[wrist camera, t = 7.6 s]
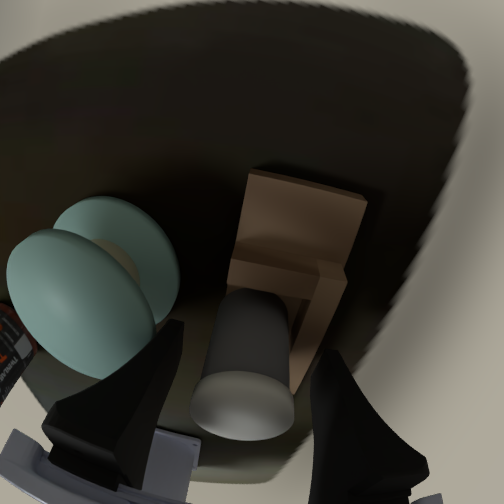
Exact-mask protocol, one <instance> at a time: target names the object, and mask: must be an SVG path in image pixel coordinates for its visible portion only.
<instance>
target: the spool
mask: <svg viewBox="0 0 504 504" xmlns="http://www.w3.org/2000/svg"><path fill="white" fill-rule="evenodd" d="M180 282H181V273H180V266H179V261H178V258H177V255H176V252H175V250H174V247H173V245H172V243H171V242H170V240H169V238H168V236H167V235H166V234H165V232H164V231H163V229H162V228H161V227H160V226H159V225H158V224H157V222H156V221H155V220H154V219H153V218H151V217H150V216H149V215H148V214H147V213H146V212H144V211H143V210H141V209H140V208H139V207H137V206H135V205H133V204H131V203H130V202H127V201H125V200H122V199H119V198H115V197H110V196H94V197H89V198H86V199H84V200H81V201H79V202H78V203H76V204H75V205H73V206H72V207H70V208H69V209H67V210H66V211H65V212H64V213H63V214H62V215H61V216H60V217H59V218H58V220H57V221H56V223H55V225H54V228H53V229H44V230H40V231H37V232H35V233H33V234H32V235H30V236H29V237H28V238H26V239H25V240H24V241H22V242H21V243H20V244H19V245H17V246H16V247H15V249H14V250H13V251H12V253H11V255H10V257H9V260H8V264H7V284H8V290H9V294H10V297H11V300H12V303H13V305H14V307H15V309H16V312H17V314H18V315H19V317H20V319H21V321H22V322H23V324H24V325H25V327H26V328H27V329H28V331H29V332H30V333H31V335H32V336H33V337H34V338H35V339H36V340H37V342H38V343H39V344H40V345H41V346H42V347H43V348H44V349H46V350H47V351H48V352H49V353H50V354H51V355H53V356H54V357H55V358H57V359H58V360H59V361H61V362H62V363H64V364H65V365H67V366H69V367H70V368H72V369H74V370H76V371H78V372H81V373H83V374H85V375H88V376H91V377H94V378H98V379H104V378H106V377H107V376H109V375H110V374H112V373H113V372H115V371H116V370H117V369H119V368H120V367H121V366H123V365H124V364H125V363H127V362H128V361H129V360H130V359H131V358H132V357H134V356H135V355H136V354H137V353H138V352H139V351H140V350H141V349H142V348H143V347H144V346H145V345H146V344H147V343H148V342H149V341H150V340H151V339H152V338H153V337H154V336H155V335H156V324H157V323H159V322H160V321H162V320H163V319H164V318H165V317H166V316H167V314H168V313H169V312H170V310H171V308H172V306H173V304H174V302H175V300H176V298H177V295H178V292H179V288H180Z"/></svg>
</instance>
